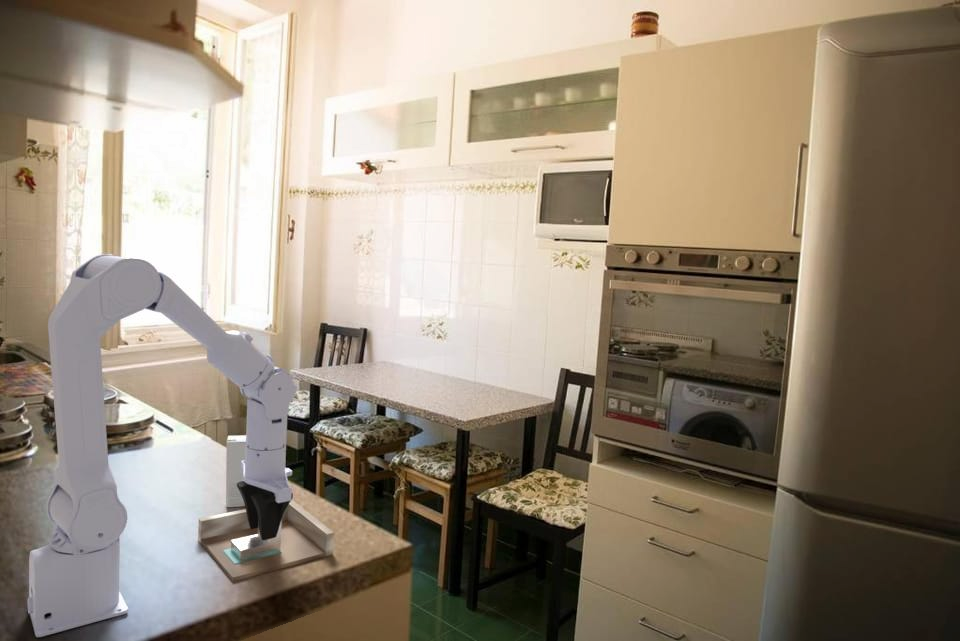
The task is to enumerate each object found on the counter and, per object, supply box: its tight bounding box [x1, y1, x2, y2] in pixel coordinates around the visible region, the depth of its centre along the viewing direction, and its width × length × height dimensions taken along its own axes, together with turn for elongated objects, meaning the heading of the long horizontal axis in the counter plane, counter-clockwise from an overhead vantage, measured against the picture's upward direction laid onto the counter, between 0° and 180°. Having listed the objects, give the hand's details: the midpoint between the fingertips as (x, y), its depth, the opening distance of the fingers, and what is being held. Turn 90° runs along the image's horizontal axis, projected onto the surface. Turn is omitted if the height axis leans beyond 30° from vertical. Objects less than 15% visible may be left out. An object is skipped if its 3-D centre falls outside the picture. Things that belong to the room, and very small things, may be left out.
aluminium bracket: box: [231, 519, 282, 561], centre depth 96 cm, size 4×6×6 cm, turn 131°
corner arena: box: [197, 499, 335, 583], centre depth 99 cm, size 15×15×4 cm
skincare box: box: [225, 434, 246, 508], centre depth 115 cm, size 6×4×12 cm
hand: (262, 532), depth 97 cm, fingers closed on aluminium bracket, 4 cm apart
